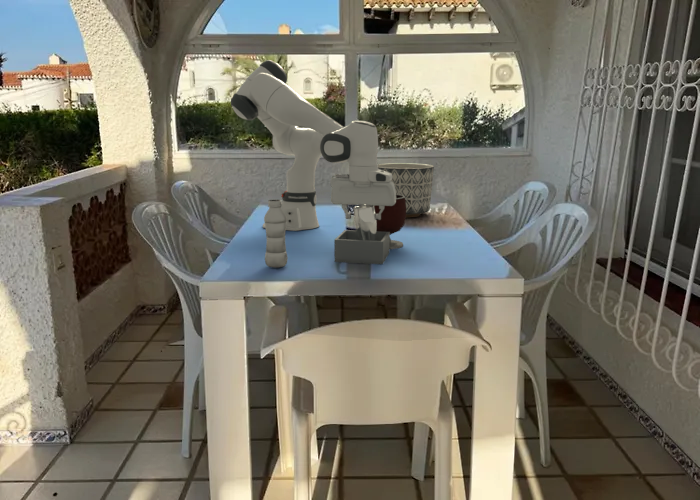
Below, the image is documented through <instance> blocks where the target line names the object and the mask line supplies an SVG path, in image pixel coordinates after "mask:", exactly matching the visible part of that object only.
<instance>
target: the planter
mask: <svg viewBox="0 0 700 500" xmlns="http://www.w3.org/2000/svg"><path fill="white" fill-rule="evenodd" d="M434 168H435V166H434V165H432V164H428V163H427V164H426V163H416V162H415V163H411V162H409V163H407V162H394V163H393V162H390V163H388V162H387V163H379V164H378V169H380V170H383V171H386V172H389V173H391V174H392V180H391V181H392V182H393V183H394V185H395V191H396V194H399V195H404V196H405V201H406V219H407V218H416V217H419V216H420V215H421V214H426V213H428V212H429V211H431V199H432V190H433V188H432V187H433V178H434V170H435V169H434Z"/></svg>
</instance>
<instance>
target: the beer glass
mask: <svg viewBox="0 0 700 500" xmlns="http://www.w3.org/2000/svg"><path fill="white" fill-rule="evenodd" d="M375 216H376V212H375V207H374V205H355V206H354V207H353V218H354V219H353V220H354V221H353V222H354V226H355V231H357V234H358V238H359V240H367V241H376V233H377V220H376V217H375Z"/></svg>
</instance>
